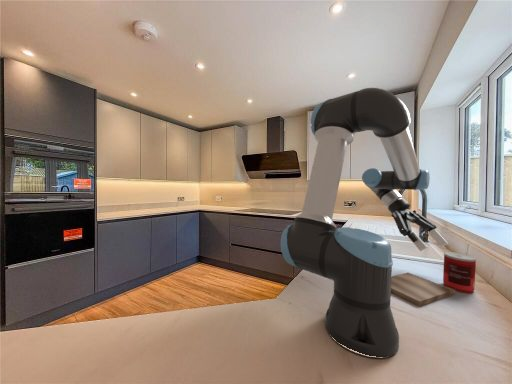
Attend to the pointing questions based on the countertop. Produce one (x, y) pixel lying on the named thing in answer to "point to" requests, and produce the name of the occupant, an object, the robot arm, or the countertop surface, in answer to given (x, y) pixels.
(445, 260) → the canned food
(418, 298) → the walnut board
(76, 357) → the countertop surface
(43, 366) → the countertop surface
